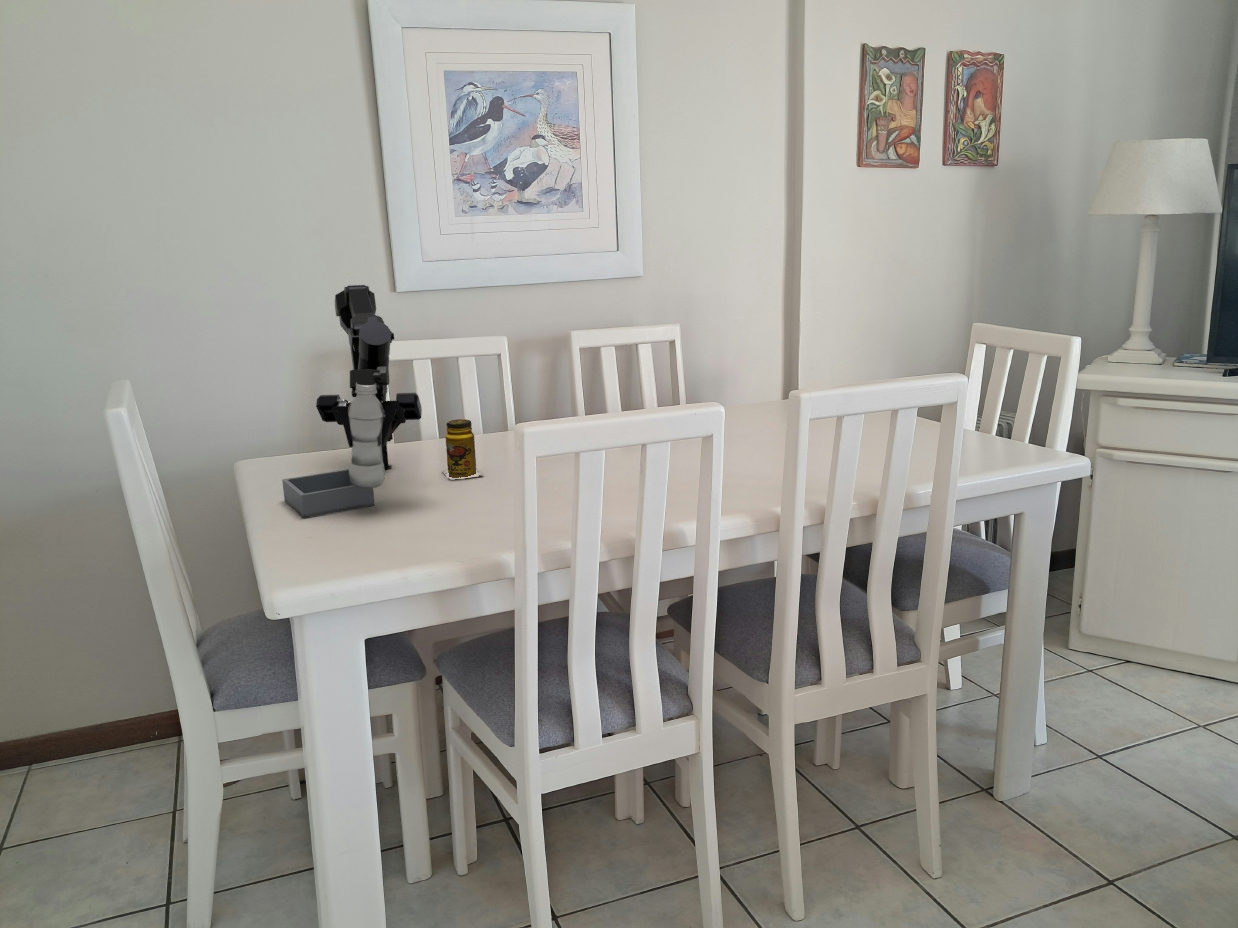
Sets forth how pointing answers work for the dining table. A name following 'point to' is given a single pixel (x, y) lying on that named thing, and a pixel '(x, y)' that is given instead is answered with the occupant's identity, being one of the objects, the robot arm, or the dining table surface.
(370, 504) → the tote
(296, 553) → the dining table surface
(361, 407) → the plastic bottle
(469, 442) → the condiment
